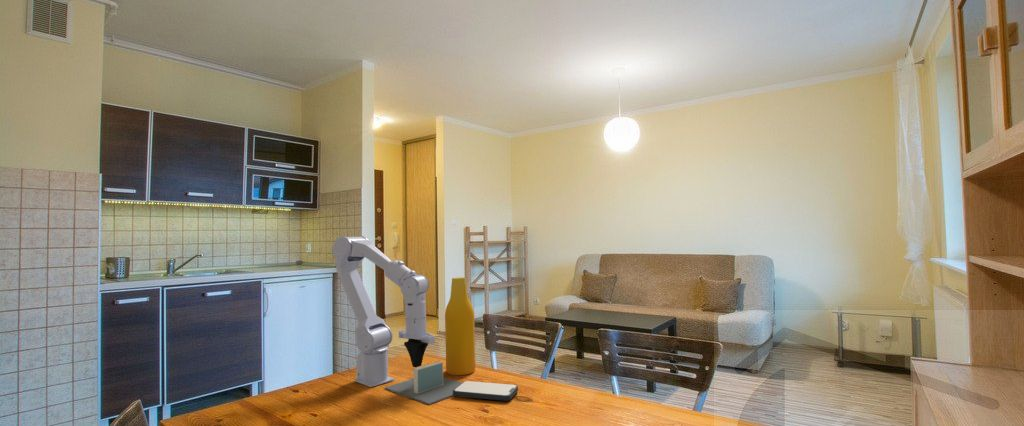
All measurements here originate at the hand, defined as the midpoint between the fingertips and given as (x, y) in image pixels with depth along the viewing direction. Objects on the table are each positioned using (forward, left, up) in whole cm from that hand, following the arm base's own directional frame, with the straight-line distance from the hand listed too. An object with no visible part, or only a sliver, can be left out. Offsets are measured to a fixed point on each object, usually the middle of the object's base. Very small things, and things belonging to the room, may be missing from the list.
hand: (417, 366), depth 130 cm
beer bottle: (-1, +17, -6) cm, 18 cm away
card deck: (+5, 0, -5) cm, 7 cm away
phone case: (+20, +7, -6) cm, 22 cm away
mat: (+4, +1, -6) cm, 7 cm away
